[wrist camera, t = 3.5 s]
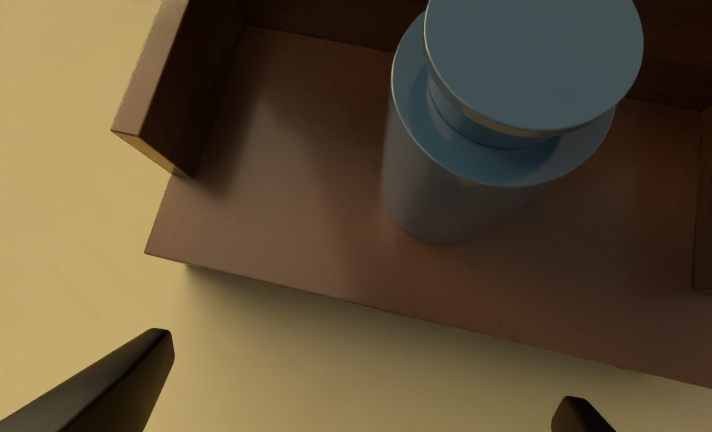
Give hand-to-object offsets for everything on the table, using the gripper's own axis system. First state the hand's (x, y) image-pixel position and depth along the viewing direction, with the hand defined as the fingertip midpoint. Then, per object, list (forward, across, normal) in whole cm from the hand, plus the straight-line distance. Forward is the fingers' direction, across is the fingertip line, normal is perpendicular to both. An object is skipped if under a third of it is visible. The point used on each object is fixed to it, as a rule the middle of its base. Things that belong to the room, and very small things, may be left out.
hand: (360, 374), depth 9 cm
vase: (+12, -3, 0) cm, 12 cm away
